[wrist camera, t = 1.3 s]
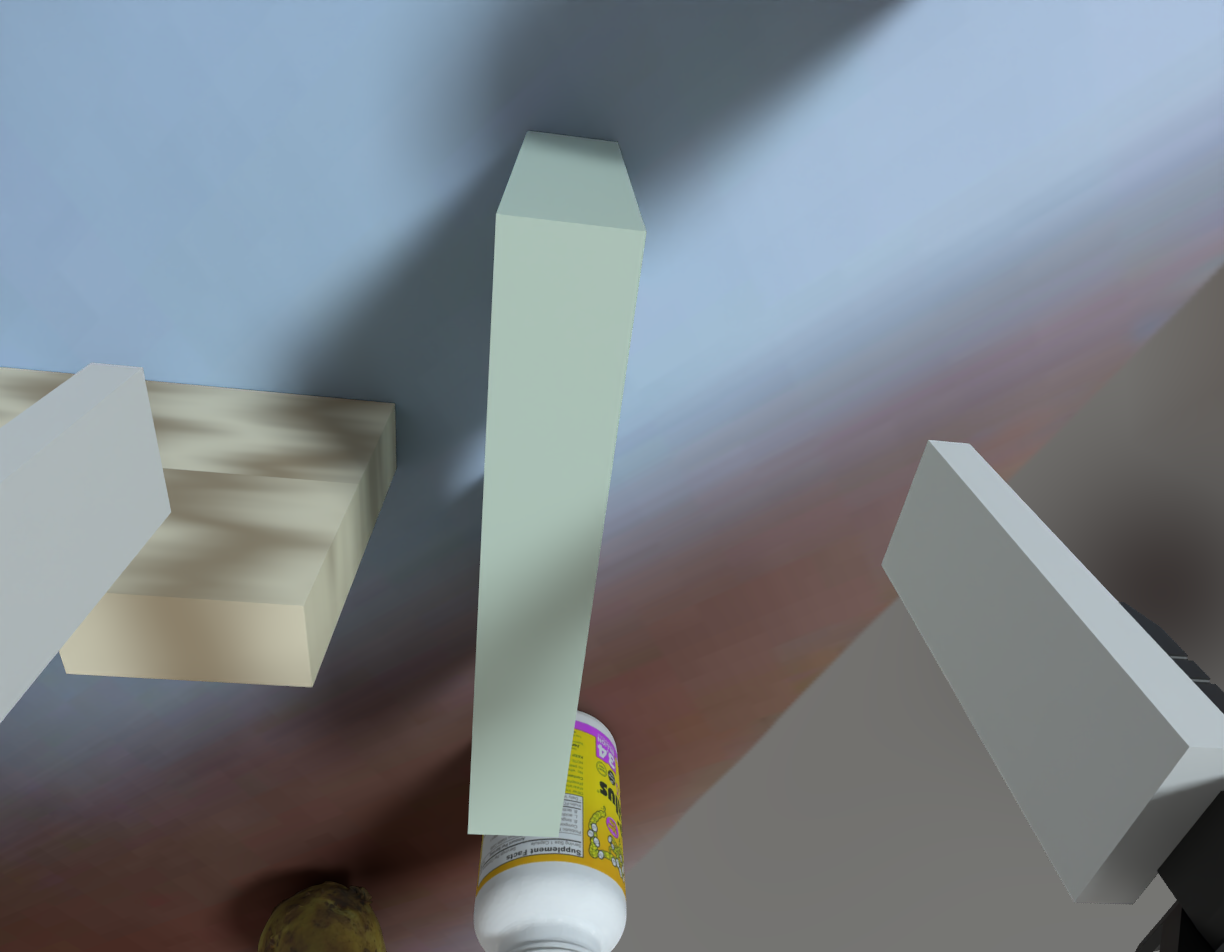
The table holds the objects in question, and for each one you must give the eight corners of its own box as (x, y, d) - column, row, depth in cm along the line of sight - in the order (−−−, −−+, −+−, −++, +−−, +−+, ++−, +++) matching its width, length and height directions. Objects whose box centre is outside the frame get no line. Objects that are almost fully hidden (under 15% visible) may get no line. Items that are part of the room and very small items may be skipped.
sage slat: (527, 130, 25) (496, 213, 15) (617, 141, 26) (646, 231, 15) (498, 596, 36) (467, 834, 25) (562, 600, 36) (558, 837, 26)
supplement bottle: (613, 784, 43) (627, 1049, 32) (494, 784, 43) (467, 1053, 32) (620, 700, 40) (637, 965, 29) (490, 700, 39) (457, 969, 28)
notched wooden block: (-74, 429, 30) (-409, 647, 20) (-100, 357, 28) (-479, 554, 18) (396, 468, 32) (312, 687, 22) (395, 403, 30) (303, 605, 20)
